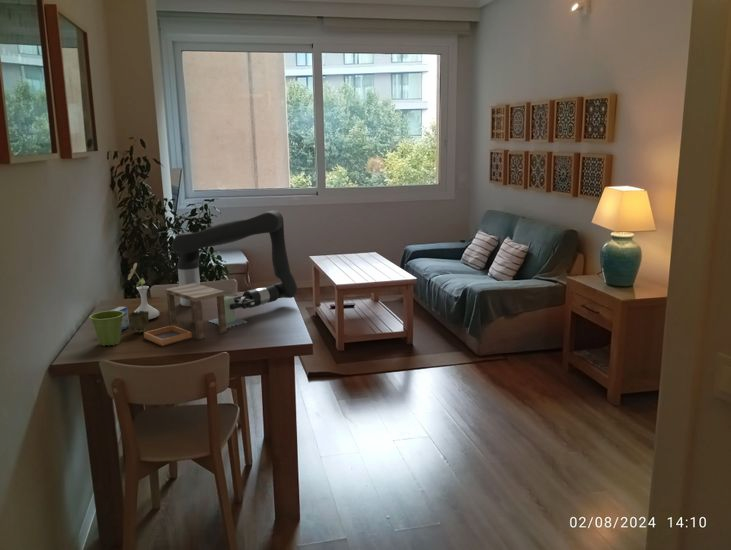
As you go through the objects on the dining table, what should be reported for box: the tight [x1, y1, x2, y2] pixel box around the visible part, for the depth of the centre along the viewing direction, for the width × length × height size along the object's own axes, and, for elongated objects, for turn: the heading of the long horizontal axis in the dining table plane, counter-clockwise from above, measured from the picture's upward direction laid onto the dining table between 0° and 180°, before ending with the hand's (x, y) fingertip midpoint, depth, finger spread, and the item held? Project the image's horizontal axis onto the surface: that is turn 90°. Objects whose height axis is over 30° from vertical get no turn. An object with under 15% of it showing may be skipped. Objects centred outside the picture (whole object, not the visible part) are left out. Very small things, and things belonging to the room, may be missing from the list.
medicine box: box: [109, 306, 130, 331], centre depth 241 cm, size 8×4×9 cm, turn 168°
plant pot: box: [89, 310, 124, 346], centre depth 224 cm, size 12×12×11 cm
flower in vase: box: [126, 262, 160, 321], centre depth 253 cm, size 13×11×25 cm
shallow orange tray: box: [143, 325, 193, 347], centre depth 229 cm, size 14×12×2 cm
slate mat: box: [207, 317, 248, 329], centre depth 248 cm, size 14×10×1 cm
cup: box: [128, 311, 149, 334], centre depth 237 cm, size 8×7×8 cm
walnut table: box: [164, 283, 227, 340], centre depth 237 cm, size 22×13×16 cm, turn 47°
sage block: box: [224, 295, 236, 323], centre depth 247 cm, size 4×4×10 cm
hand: (224, 305), depth 246 cm, fingers open, 8 cm apart
